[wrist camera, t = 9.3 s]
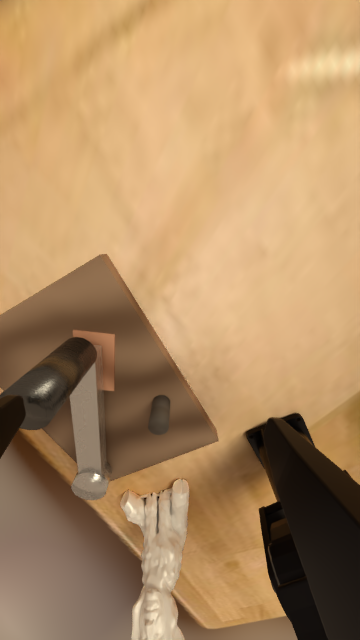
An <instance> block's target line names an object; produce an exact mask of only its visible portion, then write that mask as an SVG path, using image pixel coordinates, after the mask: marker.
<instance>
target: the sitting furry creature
mask: <svg viewBox="0 0 360 640" xmlns="http://www.w3.org/2000/svg"><path fill="white" fill-rule="evenodd" d="M157 496H159V500H158V499H157ZM145 497H147V498H146V499H143V498H145ZM157 500H158V501H157ZM120 506H121V508H122V510H123V511H124V512H125V515H126V517H127V520H128V521H131V522H132V523H133V524H138V525H139V526H140V528H141V531H142V532H143V536H144V543H143V547H144V549H143V551H142V554H141V557H142V565H141V567H142V571H143V578H142V582H143V584H144V586H143V588H142V591H141V594H140V597H139V599H138V600H137V602H136V603H135V604H134V606H133V608H132V614H133V615H132V624H133V629H132V636H131V640H185V639H184V636H183V634H182V632H181V630H180V629H179V628H178V626H177V618H178V610H177V607H176V603H175V600H174V598H173V597H172V596H171V594H170V593H171V591H172V590H173V589H174V587H175V583H176V581H177V580H178V578H179V571H180V569H181V560H182V551H183V548H184V544H185V540H186V535H187V526H188V522H187V520H188V516H187V513H188V506H189V485H188V483H187V481H186V480H184V479H182V480H181V479H180V478H179V479H178V480H176V481H175V482H174V484H173V487H172V488H170V489H167V490H166V489H165V490H164V492H162V490H161V491H160V493H159V494H156V493H155V492H153V494H152V496H151V494H150V493H148V494H145V495H141V496H139V495H137V494H136V493H134V492H133V491H130V490H129V489H128V490H127V491H125V493H124V495H123V497H122V499H121V503H120Z"/></svg>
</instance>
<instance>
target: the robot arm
mask: <svg viewBox="0 0 360 640" xmlns="http://www.w3.org/2000/svg"><path fill="white" fill-rule="evenodd" d="M25 416H26V411H25V406H24V401H23V397H22V396H20V395H6V396H4V397H2V398H0V458H1V456H2V455H3V453H4V452H5V450H6V448H7V447H8V445H9V444H10V442H11V440H12V439H13V437H14V436H15V434H16V432H17V431H18V429H19V428H20V426H21V424H22V423H23V421H24V419H25ZM246 437H247V439H248V441H249V443H250V444H251V446H252V448H253V450H254V451H255V453H256V455H257V457H258V458H259V460H260V462H261V464H262V466H263V467H264V469H265V470H266V473H267V476H268V478H269V481H270V484H271V486H272V489H273V492H274V494H275V497H276V500H277V502H276V503H273V504H271V505H269V506H267V507H264V506H263V507H261V508H259V514H260V523H261V530H262V536H263V542H264V549H265V555H266V562H267V568H268V574H269V578H270V580H271V584H272V587H273V590H274V591H275V593H276V594H277V597H278V599H279V601H280V603H281V605H282V608H283V610H284V611H285V613H286V615H287V617H288V618H289V620H290V621H291V622H292V625H293V628H294V630H295V633H296V636H297V638H298V640H360V485H359V484H358V483H357V482H355V481H354V480H353V479H352V477H351V476H350V475H349V474H348V472H347V471H346V470H344V471H342V470H341V469H340V468H339V467H338V466H337V465H335V464H334V463H333V462H332V461H331V460H330V459H328V458H327V457H326V456H325V455H324V454H322V453H321V452H320V451H319V450H318V449H317V448H315V446H314V443H313V441H312V438H311V436H310V434H309V431H308V429H307V427H306V424H305V422H304V419H303V418H302V416H301V415H300V414H298V413H297V414H293V415H291V416H288V417H285V418H283V419H281V418H273V417H271V418H269V419H268V421H267V424H266V425H264V426H261V427H258V428H256V429H253V430H250V431H248V432H247V433H246Z"/></svg>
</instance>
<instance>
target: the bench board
mask: <svg viewBox="0 0 360 640" xmlns="http://www.w3.org/2000/svg"><path fill="white" fill-rule="evenodd" d="M73 337H81V338H84V339H86V340H88V341H90V342H91V343H92V344H93V345H100V346H102V367H103V390H104V413H105V437H106V460H107V463H108V464H109V465H110V466H111V468H112V474H111V477H110V481H112V480H115V479H118V478H120V477H123V476H126V475H128V474H131V473H134V472H136V471H139V470H142V469H145V468H147V467H150V466H153V465H155V464H158V463H161V462H163V461H166V460H169V459H171V458H174V457H177V456H179V455H182V454H185V453H188V452H190V451H193V450H196V449H198V448H201V447H204V446H206V445H209V444H212V443H214V442H217V441H218V436H217V431H216V428H215V427H214V425H213V423H212V422H211V420H210V419H209V417H208V415H207V414H206V412H205V411H204V409H203V407H202V406H201V404H200V403H199V401H198V399H197V398H196V396H195V395H194V393H193V391H192V390H191V388H190V387H189V385H188V383H187V382H186V380H185V379H184V377H183V375H182V374H181V372H180V371H179V369H178V367H177V366H176V364H175V363H174V361H173V359H172V358H171V356H170V355H169V353H168V351H167V350H166V348H165V347H164V345H163V343H162V342H161V340H160V339H159V337H158V335H157V334H156V332H155V331H154V329H153V327H152V326H151V324H150V323H149V321H148V319H147V318H146V316H145V315H144V313H143V311H142V310H141V308H140V307H139V305H138V303H137V302H136V300H135V299H134V297H133V295H132V294H131V292H130V291H129V289H128V287H127V286H126V284H125V283H124V281H123V279H122V278H121V276H120V275H119V273H118V271H117V270H116V268H115V267H114V265H113V263H112V262H111V260H110V259H109V257H108V255H107V254H102V255H99V256H97V257H95V258H94V259H92V260H90V261H89V262H87V263H86V264H84V265H82V266H81V267H79V268H77V269H76V270H74V271H72V272H71V273H69V274H67V275H66V276H64V277H62V278H61V279H59V280H57V281H56V282H54V283H53V284H51V285H49V286H48V287H46V288H44V289H43V290H41V291H39V292H38V293H36V294H34V295H33V296H31V297H29V298H28V299H26V300H24V301H23V302H21V303H20V304H18V305H16V306H15V307H13V308H11V309H10V310H8V311H6V312H5V313H3V314H1V315H0V387H1V388H2V389H3V390H4V391H5V390H6V389H7V388H9V387H10V386H11V385H12V384H14V383H15V382H16V381H17V380H18V379H20V378H21V377H22V376H23V375H25V374H26V373H27V372H28V371H29V370H31V369H32V368H33V367H34V366H36V365H37V364H38V363H39V362H40V361H42V360H43V359H44V358H45V357H47V356H48V355H49V354H50V353H52V352H53V351H54V350H55V349H56V348H58V347H59V346H60V345H61V344H63V343H64V342H65V341H66V340H68V339H69V338H73ZM42 429H43V430H44V431H45V432H46V433H47V434H48V435H49V436H50V437H51V438H52V439H53V440H54V441H55V442H56V443H57V444H58V445H59V446H60V447H61V448H62V449H63V450H64V451H65V452H66V453H67V454H68V455H69V456H70V457H71V458H72V459H73V460H74V461H75V462H76V463H77V456H76V448H75V439H74V430H73V422H72V413H71V404H70V396H69V398H68V399H67V400H66V402H65V403H64V404H63V406H62V407H61V408H60V410H59V411H58V412H57V414H56V415H55V416H54V418H53V419H52V420H51V422H50V423H49V424H48V425H47V426H45V427H44V428H42ZM110 481H109V482H110Z"/></svg>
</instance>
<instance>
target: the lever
mask: <svg viewBox="0 0 360 640" xmlns="http://www.w3.org/2000/svg"><path fill="white" fill-rule="evenodd" d="M6 395H20V396H22V397H23V401H24V406H25V411H26V416H25V419H24V421H23V423H22V424H21V426H20V428H22V429H27V430H37V429H41V428H44V427H45V426H47V425H48V424H49V423H50V422H51V420H52V419H53V418H54V416H55V415H56V414H57V412H58V411H59V410H60V408H61V407H62V406H63V404H64V403H65V402H66V400H67V399H68V398H69V396H70V404H71V413H72V422H73V430H74V439H75V448H76V456H77V465H78V472H77V475H76V477H75V479H74V481H73V483H72V486H71V487H72V491H73V492H74V494H75V495H77V496H78V497H80V498H82V499H86V500H97V499H100V498H102V497H103V496H104V495H105V493H106V490H107V487H108V484H109V481H110V477H111V474H112V468H111V466H110V465H109V464H108V463H107V460H106V437H105V413H104V390H103V367H102V346H100V345H93V344H92V343H91V342H90V341H88V340H86V339H84V338H81V337H73V338H69V339H68V340H66V341H65V342H64V343H63V344H61V345H60V346H59V347H58V348H56V349H55V350H54V351H53V352H52V353H50V354H49V355H48V356H47V357H45V358H44V359H43V360H42V361H40V362H39V363H38V364H37V365H36V366H34V367H33V368H32V369H31V370H29V371H28V372H27V373H26V374H25V375H23V376H22V377H21V378H20V379H18V380H17V381H16V382H15V383H14V384H12V385H11V386H10V387H9V388H7V389H6V390H5V391H4V392H3V393H1V395H0V398H2V397H4V396H6Z"/></svg>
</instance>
